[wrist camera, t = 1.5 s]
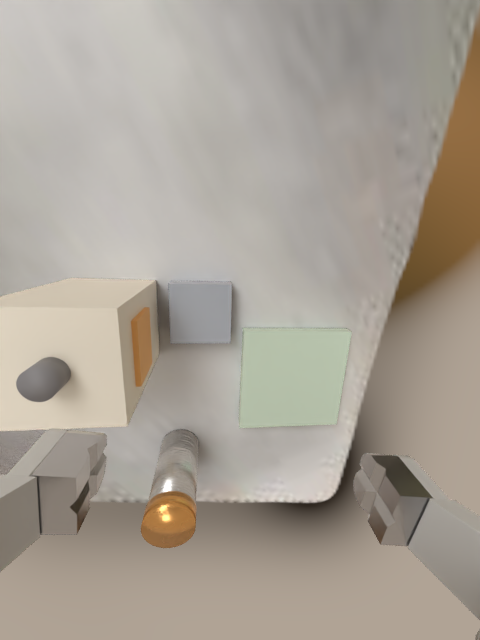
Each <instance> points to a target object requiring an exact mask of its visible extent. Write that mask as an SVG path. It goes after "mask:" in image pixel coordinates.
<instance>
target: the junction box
mask: <svg viewBox="0 0 480 640" xmlns="http://www.w3.org/2000/svg"><path fill="white" fill-rule="evenodd" d="M158 356H159V333H158V311H157V289H156V280H135V279H96V278H69V279H65V280H61V281H57V282H53V283H50V284H46V285H42V286H38V287H34V288H30V289H27V290H23V291H19V292H15V293H11V294H8V295H4V296H0V431H19V430H46V429H51V428H53V429H73V428H100V427H127V426H128V424H129V422H130V420H131V417H132V415H133V413H134V411H135V408H136V406H137V404H138V401H139V399H140V397H141V395H142V392H143V390H144V388H145V386H146V383H147V381H148V379H149V376H150V374H151V372H152V370H153V367H154V365H155V363H156V360H157V358H158Z"/></svg>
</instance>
